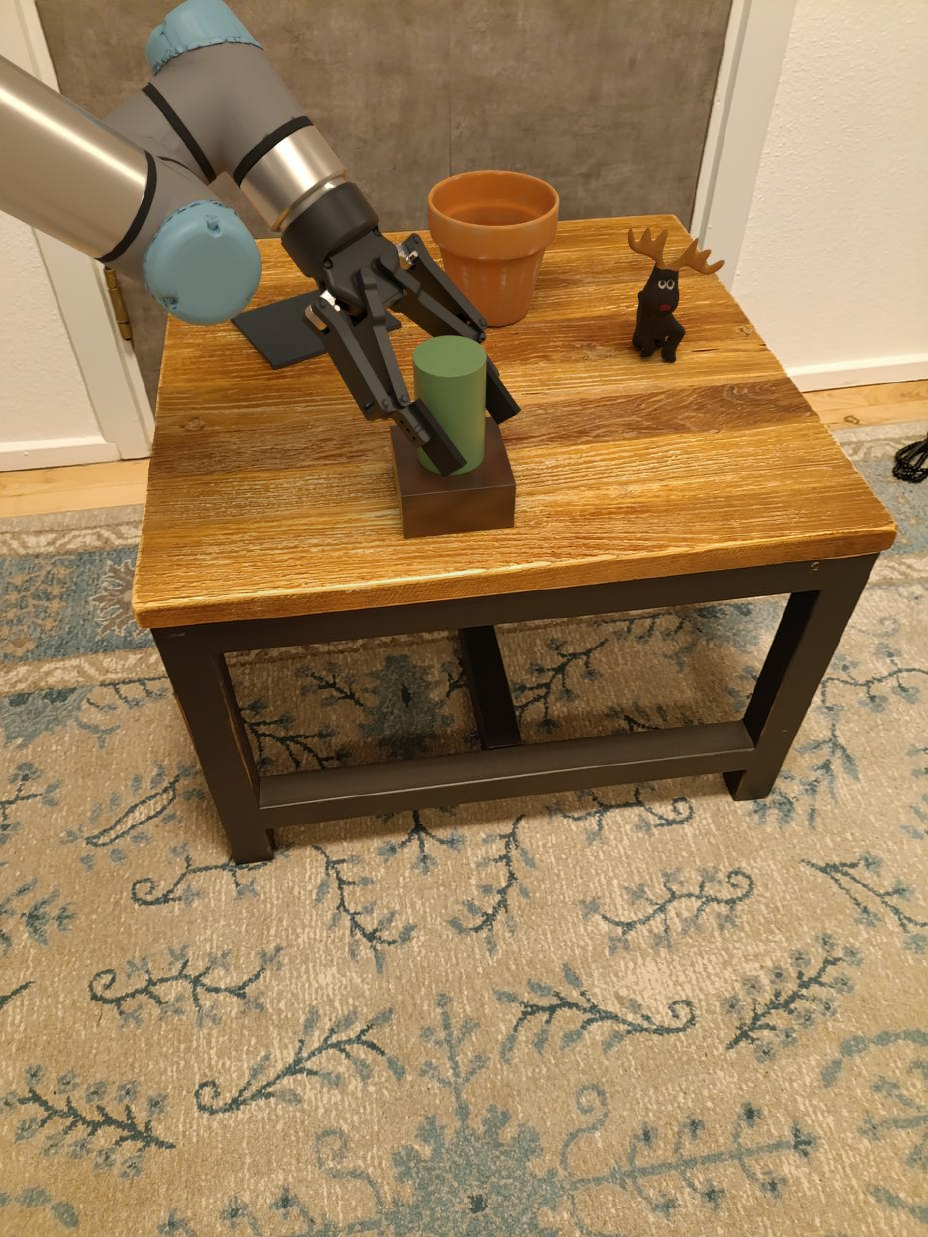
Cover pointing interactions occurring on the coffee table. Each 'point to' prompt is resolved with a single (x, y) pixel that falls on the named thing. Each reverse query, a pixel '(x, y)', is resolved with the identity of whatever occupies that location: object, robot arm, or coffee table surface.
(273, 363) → the slate mat
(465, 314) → the robot arm
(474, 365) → the green canister
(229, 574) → the coffee table surface
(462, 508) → the dark brown square block
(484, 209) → the flower pot
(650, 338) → the figurine
